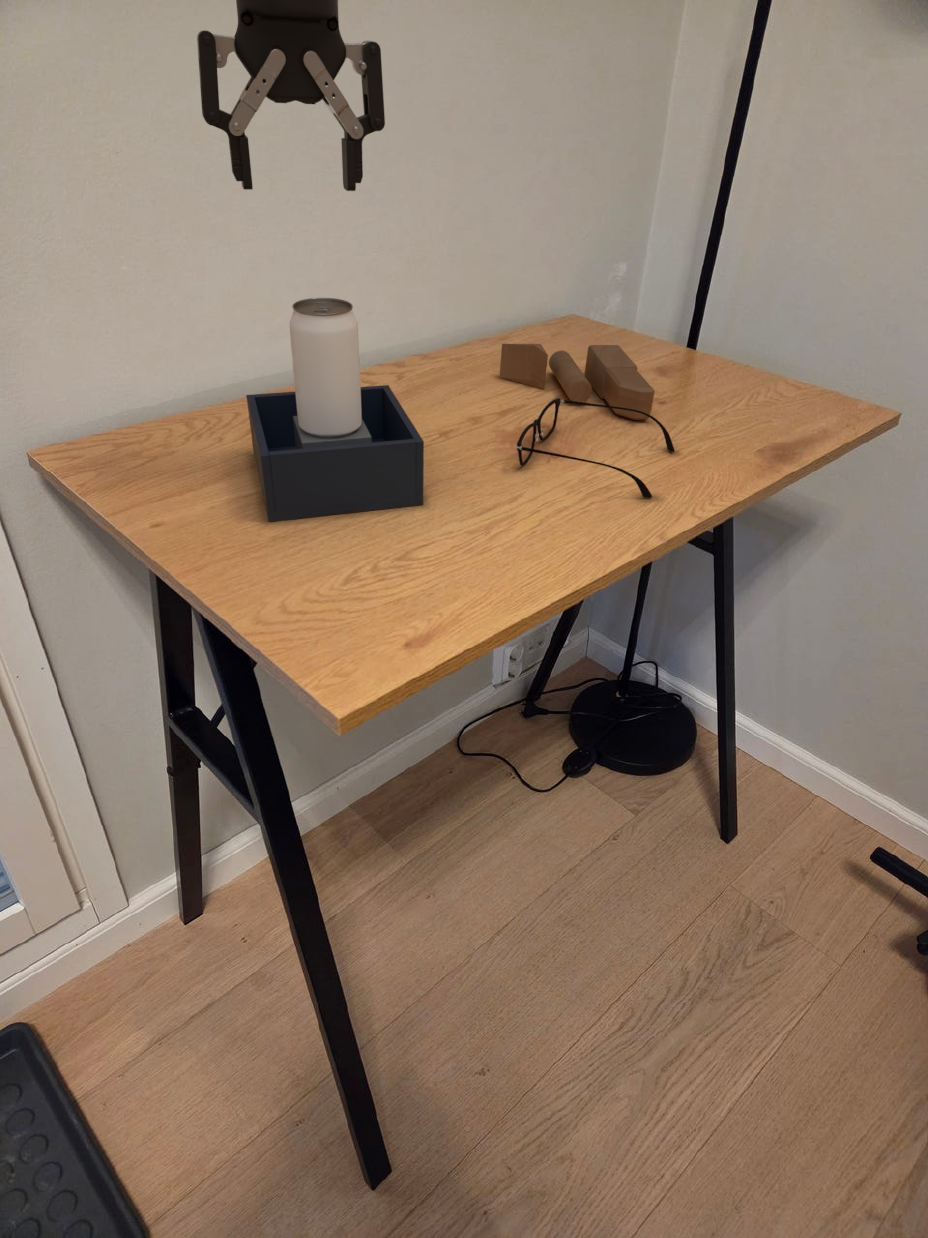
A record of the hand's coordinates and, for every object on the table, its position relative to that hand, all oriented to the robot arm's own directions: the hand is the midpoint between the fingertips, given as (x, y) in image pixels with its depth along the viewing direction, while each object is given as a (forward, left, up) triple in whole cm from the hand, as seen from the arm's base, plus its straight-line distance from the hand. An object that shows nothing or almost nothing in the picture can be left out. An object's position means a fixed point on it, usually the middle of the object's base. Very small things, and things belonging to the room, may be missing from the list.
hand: (299, 188), depth 66 cm
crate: (+2, +2, -28) cm, 28 cm away
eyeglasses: (+32, 0, -28) cm, 42 cm away
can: (+2, +2, -22) cm, 22 cm away
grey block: (+2, +2, -27) cm, 27 cm away
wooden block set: (+37, +19, -28) cm, 50 cm away
